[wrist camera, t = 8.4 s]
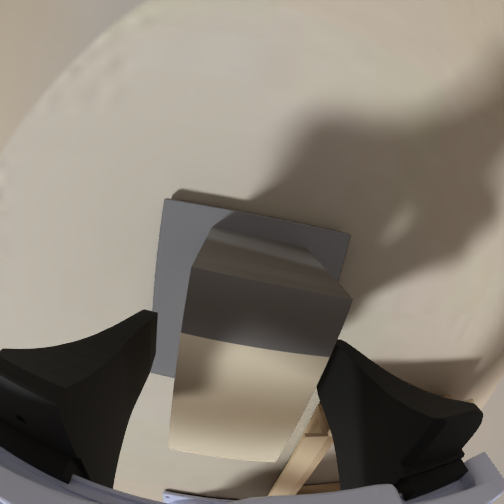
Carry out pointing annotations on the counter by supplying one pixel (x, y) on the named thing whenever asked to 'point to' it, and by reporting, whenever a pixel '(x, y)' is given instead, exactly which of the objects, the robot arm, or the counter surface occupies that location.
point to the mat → (189, 244)
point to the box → (251, 345)
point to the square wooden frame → (309, 459)
